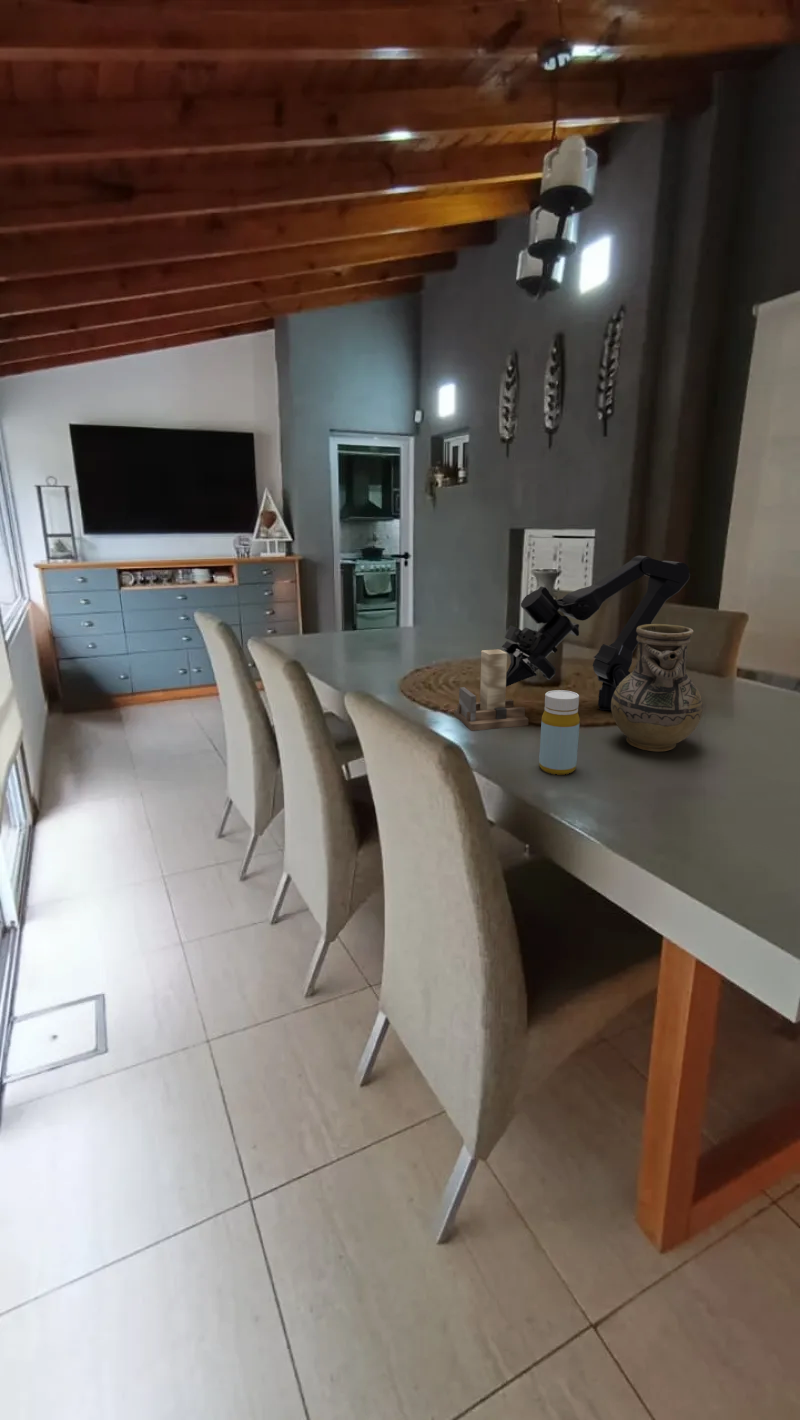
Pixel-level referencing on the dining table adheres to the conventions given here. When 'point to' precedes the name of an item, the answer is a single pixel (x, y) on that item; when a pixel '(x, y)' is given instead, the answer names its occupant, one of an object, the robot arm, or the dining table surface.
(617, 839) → the dining table surface
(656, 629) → the decorative pitcher
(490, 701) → the birch peg
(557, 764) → the bottle
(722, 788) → the dining table surface
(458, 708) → the peg housing
